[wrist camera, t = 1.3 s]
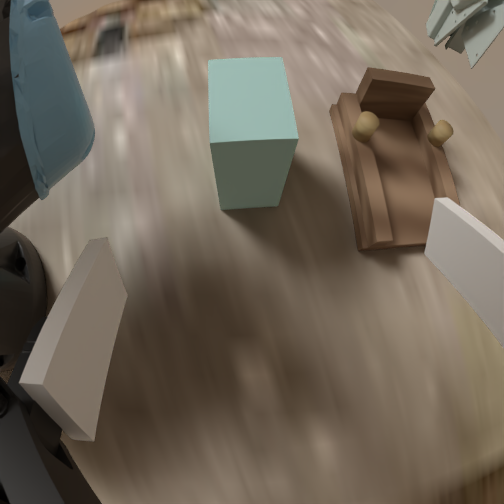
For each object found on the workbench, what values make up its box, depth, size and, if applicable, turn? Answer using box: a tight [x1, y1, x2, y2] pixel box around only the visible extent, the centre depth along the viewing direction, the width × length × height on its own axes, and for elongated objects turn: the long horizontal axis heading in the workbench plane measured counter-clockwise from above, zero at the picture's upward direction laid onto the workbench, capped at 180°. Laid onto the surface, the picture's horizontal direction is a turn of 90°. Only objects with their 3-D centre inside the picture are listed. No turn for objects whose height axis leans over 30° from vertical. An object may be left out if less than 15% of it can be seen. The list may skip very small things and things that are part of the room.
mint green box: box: [208, 57, 299, 210], centre depth 23 cm, size 7×5×11 cm
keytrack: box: [329, 68, 460, 251], centre depth 26 cm, size 15×11×7 cm
